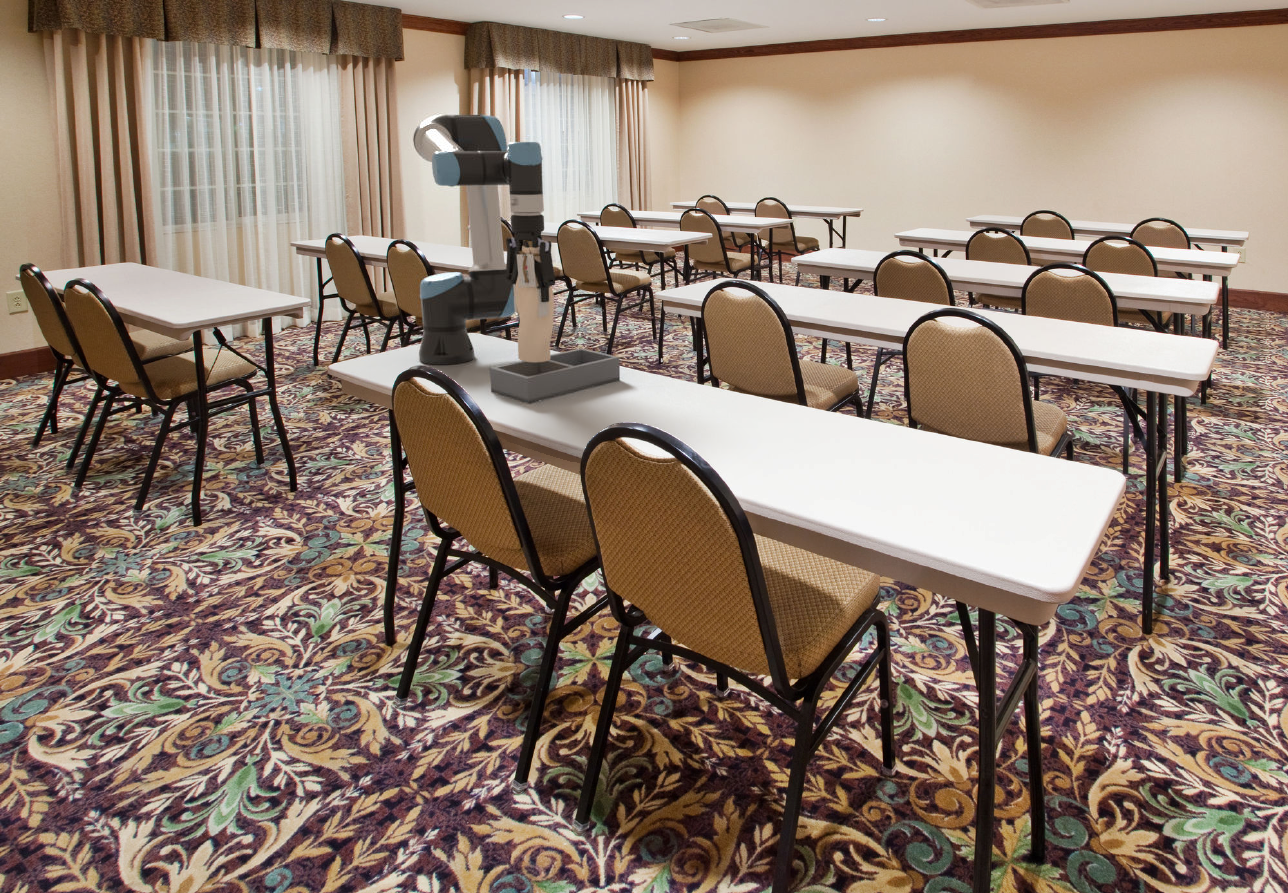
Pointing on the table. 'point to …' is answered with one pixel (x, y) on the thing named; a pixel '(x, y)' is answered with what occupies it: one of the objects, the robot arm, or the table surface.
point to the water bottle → (532, 310)
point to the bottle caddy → (554, 375)
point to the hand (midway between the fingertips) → (531, 313)
